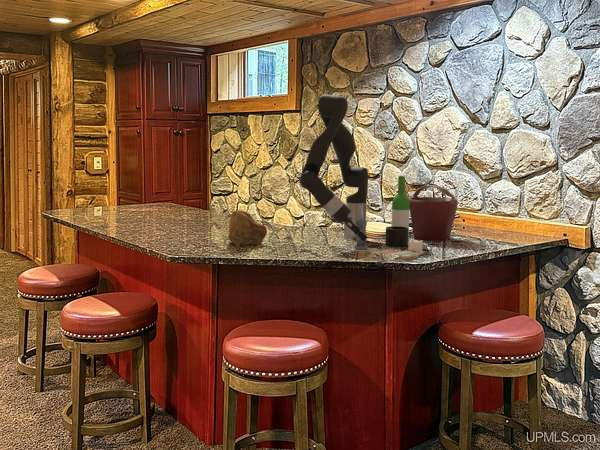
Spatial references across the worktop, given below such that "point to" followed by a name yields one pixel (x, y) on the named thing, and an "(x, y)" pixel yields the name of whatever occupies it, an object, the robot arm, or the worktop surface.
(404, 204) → the wine bottle
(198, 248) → the worktop surface
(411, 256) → the board
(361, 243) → the pawn
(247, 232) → the rough brown rock
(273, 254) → the worktop surface
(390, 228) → the mug
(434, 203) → the bucket
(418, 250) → the die
